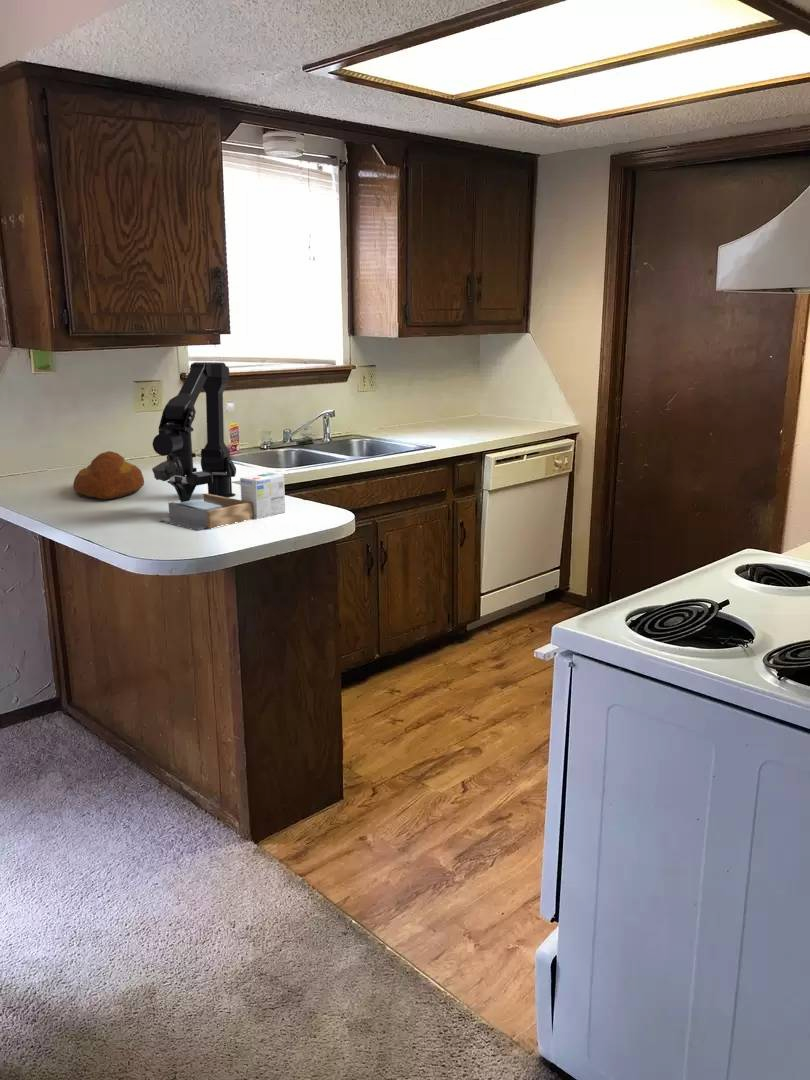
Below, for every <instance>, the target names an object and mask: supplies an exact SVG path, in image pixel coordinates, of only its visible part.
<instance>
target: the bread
mask: <svg viewBox="0 0 810 1080" xmlns="http://www.w3.org/2000/svg"><path fill="white" fill-rule="evenodd" d="M144 480H145V477H144V475H143V473H142V470H141V469H140V468H139V467H138V466H137V465H135V464H132V463H130V462H128V461H126V460H125V457H124V456H122V455H121V454H119V453H118V452H114V451H110V450H109V451H104V452H102V453H99V454H98V455H96V457H94V458H93V460H91V463H90V464H89V465H88V466H87V467H84V468H82V469H80V470H79V472H78V473H77V474H76V476H75V477H74V480H73V487H72V488H73V490H74V492H76V493H77V494H80V495H83V496H85V497H89V498H94V499H100V500H101V499H102V500H106V501H107V500H112V499H116V498H121V497H126V496H129V495H130V494H134V493H137V492H138V491H139V490H140V489H141V488H142V487H143V486H145V481H144ZM133 492H134V493H133Z"/></svg>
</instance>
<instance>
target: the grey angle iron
mask: <svg viewBox="0 0 810 1080" xmlns="http://www.w3.org/2000/svg"><path fill="white" fill-rule="evenodd" d="M178 503H179V502H173V501H171V502H168V503H167V504H168V513H169V514H168V516H169V517H163V518H160V519H159V522H161V521H163V522H162V523H165V522H167V523H166V524H169V523H172V524H171V525H173V524H176V525H175V526H177V525H180V526H179V527H182V526H184V527H183V528H186V527H188V528H187V529H190V528H192V529H191V530H194V529H196V530H195V531H198V530H199V531H201V530H200V529H203V530H205V529H204V528H207V529H208V526H207V511H210V510H206V509H201V508H197V507H192V506H187V505H183V504H178Z"/></svg>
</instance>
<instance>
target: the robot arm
mask: <svg viewBox="0 0 810 1080" xmlns="http://www.w3.org/2000/svg"><path fill="white" fill-rule="evenodd" d="M229 377H230V369H229V367H228V365H226V363H224V362H213V361H211V362H206V361H203V362H197V361H194V362H192V363H191V364H190V366H189V372H188V374H187V376H186V378H185V380H184V382H183V384H182V386H181V388H180V389H179V391H178V394H177V395H176V396H174V397H172V398H171V399H169V400H168V402H167V403H166V404H165V406H164V408H163V410H162V414H161V418H160V422H159V425H158V434H157V435H156V436H154V438H153V440H152V448H153V450H154V452H155V453H156V454H157V455H159V456H162V457H163V456H164V457H165V456H166V460H164V461H163V462H161V463H159V464H157V465H155V466H154V467H152V470H151V471H152V472H153V478H154V479H155V480H156V481H162V482H166V483H167V484H169V485H171V486H172V487H174V489H175V491H176V493H177V495H178V499H179V502H185V501H191V498H192V496H193V493H194V492H195V489H196V488H197V487H198V486H202V485H207V494H212V495H217V496H222V497H227V498H231V497H234V496H236V493H234V492H233V487H232V486H233V485H232V483H233V482H232V478H234V477H236V475H237V467H236V466H235V464H234V462H233V460H232V458H231V453H230V450H229V449H228V446H227V445H226V443H225V438H224V437H225V435H224V434H225V433H224V432H225V431H224V429H225V428H224V397H223V396H224V392H225V390H226V388H227V386H228V385H229ZM202 389H203V391H204V392H205V404H206V405H205V407H206V408H205V409H206V411H205V413H206V445H205V446H204V448H201V451H200V455H201V456H200V467H201V471H200V470H199V471H197V469H198V468H197V467H194V460H193V458H196V457H197V455H196V453H195V452H193V447H192V446H193V442H192V432H194V428H193V427H192V425H193V422H194V421H195V418H196V413H197V411H196V409H195V404H196V402H197V400H198V398H199V395H200V394H201V391H202Z"/></svg>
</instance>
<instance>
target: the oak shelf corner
mask: <svg viewBox="0 0 810 1080" xmlns="http://www.w3.org/2000/svg"><path fill="white" fill-rule="evenodd" d="M202 495H203V501H205V502H209V503H213V504H217V505H220V506H222V508H220V509H215V510H210V511H207V526H208V528H213V529H215V528H214V527H217V526H221V525H226V524H230V525H233V524H232V523H234V524H236V523H235V522H238V523H241V522H240V521H242V522H245V521H244V520H247V521H249V520H248V519H251V520H254V518H253V503H252V502H247V501H242V500H241V499H237V498H231V497H222V496H217V495H212V494H208V492H207V493H203V494H202ZM226 526H227V525H226ZM221 527H222V526H221ZM208 528H207V529H208ZM217 528H218V527H217Z"/></svg>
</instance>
